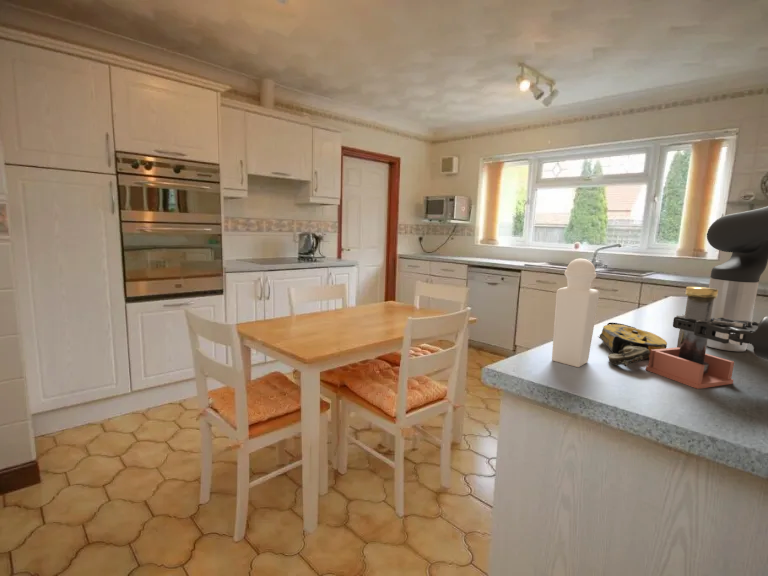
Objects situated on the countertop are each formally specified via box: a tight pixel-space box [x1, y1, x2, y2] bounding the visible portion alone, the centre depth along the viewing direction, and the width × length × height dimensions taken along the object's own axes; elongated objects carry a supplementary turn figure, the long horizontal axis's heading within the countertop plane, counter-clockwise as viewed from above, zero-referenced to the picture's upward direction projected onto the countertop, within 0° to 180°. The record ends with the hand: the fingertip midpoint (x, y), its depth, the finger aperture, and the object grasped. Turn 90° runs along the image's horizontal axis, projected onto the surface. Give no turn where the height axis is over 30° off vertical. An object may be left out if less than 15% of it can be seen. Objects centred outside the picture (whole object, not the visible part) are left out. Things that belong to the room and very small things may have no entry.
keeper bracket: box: [645, 314, 735, 390], centre depth 79 cm, size 11×11×11 cm
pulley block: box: [598, 322, 668, 367], centre depth 92 cm, size 14×6×30 cm
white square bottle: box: [551, 257, 600, 368], centre depth 83 cm, size 6×6×22 cm
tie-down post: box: [679, 286, 718, 374], centre depth 77 cm, size 6×6×16 cm
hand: (680, 320), depth 80 cm, fingers closed on tie-down post, 4 cm apart
